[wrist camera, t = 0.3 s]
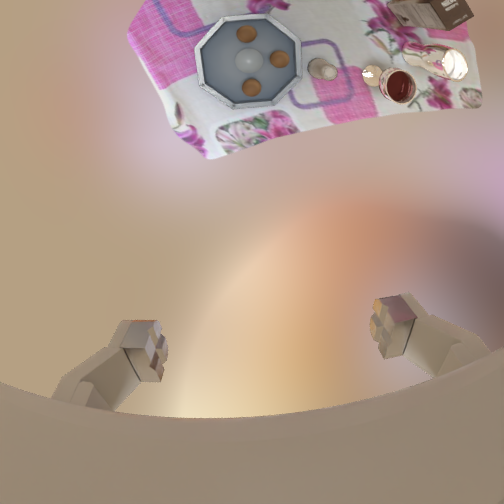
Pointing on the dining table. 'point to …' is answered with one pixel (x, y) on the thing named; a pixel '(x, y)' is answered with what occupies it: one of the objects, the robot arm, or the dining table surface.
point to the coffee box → (431, 13)
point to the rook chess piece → (322, 70)
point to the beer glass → (436, 59)
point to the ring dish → (232, 77)
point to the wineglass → (392, 83)
